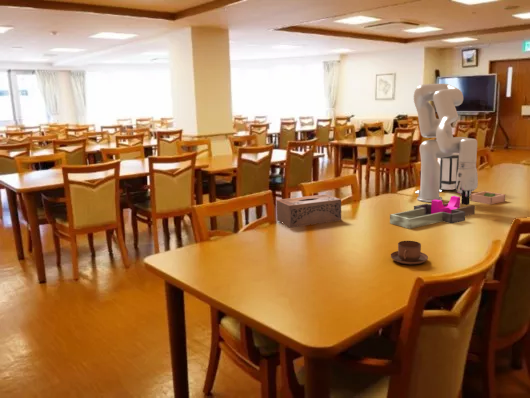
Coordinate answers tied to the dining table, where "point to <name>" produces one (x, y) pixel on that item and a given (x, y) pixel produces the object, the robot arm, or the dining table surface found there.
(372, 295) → the dining table surface
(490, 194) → the seedling
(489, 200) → the planter frame
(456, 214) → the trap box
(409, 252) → the cup and saucer
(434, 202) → the toy block
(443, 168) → the lantern
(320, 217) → the tissue box cover
